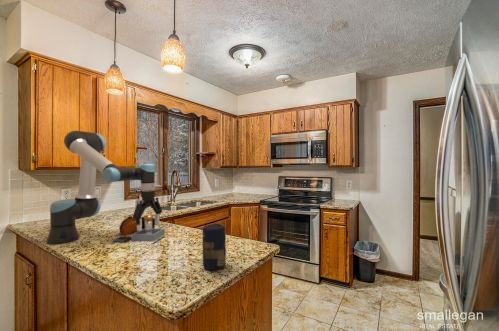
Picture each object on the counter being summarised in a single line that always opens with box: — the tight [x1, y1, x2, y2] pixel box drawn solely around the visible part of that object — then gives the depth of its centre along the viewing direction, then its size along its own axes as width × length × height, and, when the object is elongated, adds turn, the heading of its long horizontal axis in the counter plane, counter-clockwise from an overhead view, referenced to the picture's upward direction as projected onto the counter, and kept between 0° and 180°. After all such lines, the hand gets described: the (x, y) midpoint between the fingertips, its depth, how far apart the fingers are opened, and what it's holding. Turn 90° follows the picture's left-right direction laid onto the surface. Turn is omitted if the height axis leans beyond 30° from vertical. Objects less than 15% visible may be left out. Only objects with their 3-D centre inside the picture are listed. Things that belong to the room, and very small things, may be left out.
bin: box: [130, 228, 166, 245], centre depth 142 cm, size 13×13×5 cm
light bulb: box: [143, 214, 154, 234], centre depth 143 cm, size 5×5×13 cm
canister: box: [202, 223, 227, 271], centre depth 103 cm, size 10×10×18 cm
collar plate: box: [107, 235, 131, 244], centre depth 138 cm, size 10×10×2 cm
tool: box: [118, 215, 156, 237], centre depth 157 cm, size 8×23×15 cm, turn 142°
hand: (148, 227), depth 142 cm, fingers open, 13 cm apart
